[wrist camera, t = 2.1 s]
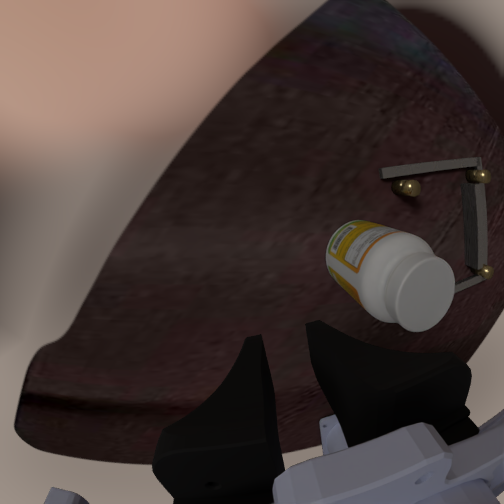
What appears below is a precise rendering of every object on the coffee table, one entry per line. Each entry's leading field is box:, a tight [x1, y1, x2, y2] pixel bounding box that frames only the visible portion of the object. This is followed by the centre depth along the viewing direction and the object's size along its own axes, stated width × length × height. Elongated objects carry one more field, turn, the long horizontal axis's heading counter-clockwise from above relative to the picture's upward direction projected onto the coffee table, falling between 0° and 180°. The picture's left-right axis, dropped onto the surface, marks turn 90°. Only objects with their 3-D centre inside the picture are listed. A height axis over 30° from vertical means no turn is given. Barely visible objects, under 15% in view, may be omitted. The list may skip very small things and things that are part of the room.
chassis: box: [379, 157, 494, 293], centre depth 21 cm, size 12×12×2 cm
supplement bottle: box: [326, 220, 455, 332], centre depth 17 cm, size 5×5×10 cm
